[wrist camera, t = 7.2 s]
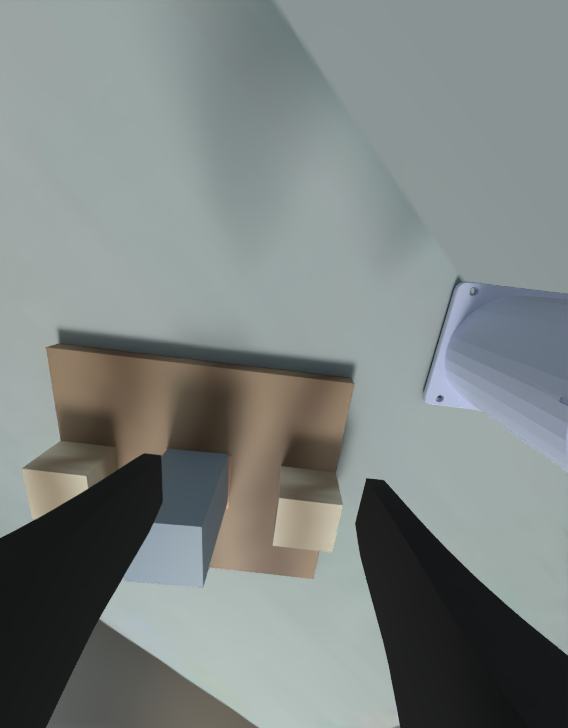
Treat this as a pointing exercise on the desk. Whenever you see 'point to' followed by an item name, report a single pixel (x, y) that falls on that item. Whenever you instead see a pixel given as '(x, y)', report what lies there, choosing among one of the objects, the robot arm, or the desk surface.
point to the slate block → (184, 520)
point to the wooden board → (206, 444)
